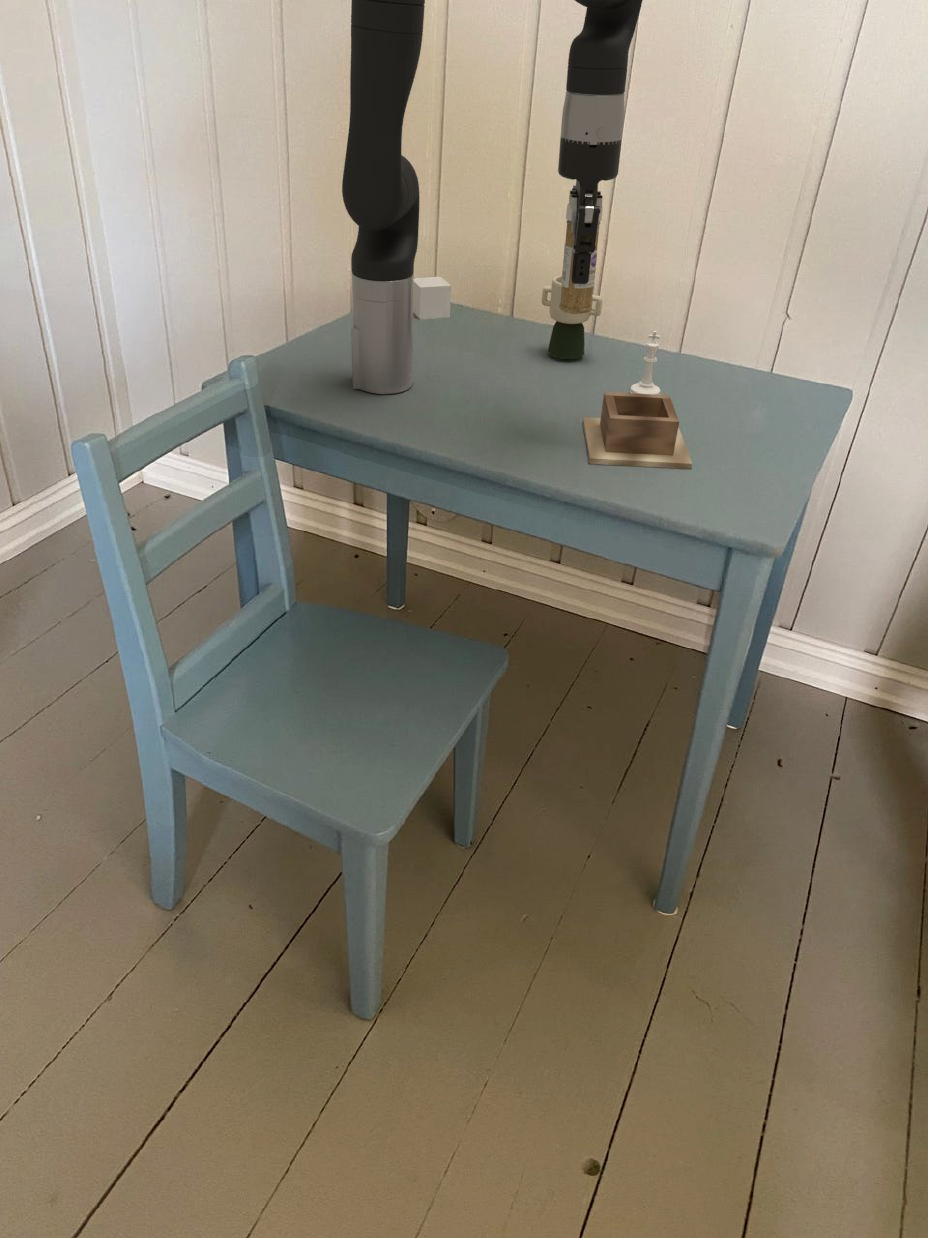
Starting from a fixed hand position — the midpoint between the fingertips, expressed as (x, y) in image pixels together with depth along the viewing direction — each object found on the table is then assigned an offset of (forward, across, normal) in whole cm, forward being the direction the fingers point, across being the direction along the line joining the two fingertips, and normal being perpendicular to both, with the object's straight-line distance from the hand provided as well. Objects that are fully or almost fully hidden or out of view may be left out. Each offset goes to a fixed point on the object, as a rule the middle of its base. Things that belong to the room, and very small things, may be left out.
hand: (578, 277), depth 123 cm
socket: (+22, +4, +10) cm, 24 cm away
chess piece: (+22, -16, +14) cm, 31 cm away
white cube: (+22, -51, -23) cm, 60 cm away
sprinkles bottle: (+4, 0, 0) cm, 4 cm away
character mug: (+22, -31, +2) cm, 38 cm away
